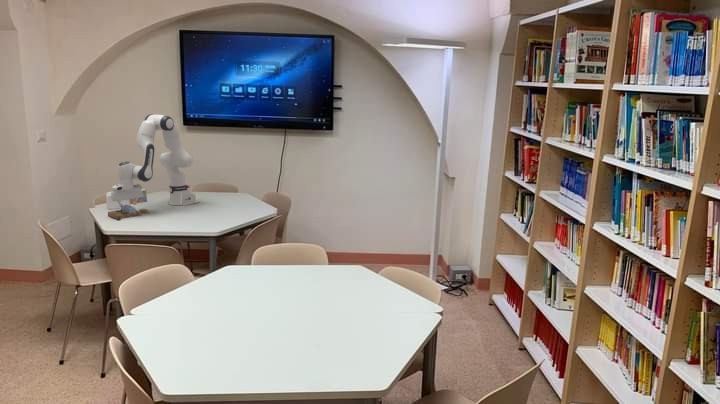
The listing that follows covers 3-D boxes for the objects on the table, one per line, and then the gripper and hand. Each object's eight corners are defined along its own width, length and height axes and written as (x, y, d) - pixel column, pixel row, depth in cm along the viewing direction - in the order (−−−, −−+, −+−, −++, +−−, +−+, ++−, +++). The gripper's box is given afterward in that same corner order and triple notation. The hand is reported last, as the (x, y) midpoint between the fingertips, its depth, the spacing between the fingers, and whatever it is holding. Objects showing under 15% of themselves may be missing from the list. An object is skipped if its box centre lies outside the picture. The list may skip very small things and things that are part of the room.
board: (131, 212, 360) (131, 208, 359) (141, 216, 349) (141, 212, 348) (108, 215, 348) (107, 211, 348) (117, 220, 338) (117, 216, 337)
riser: (145, 212, 361) (145, 208, 361) (148, 213, 358) (148, 209, 358) (139, 213, 358) (139, 209, 358) (142, 214, 355) (142, 210, 355)
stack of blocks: (143, 200, 398) (142, 184, 395) (147, 201, 394) (146, 186, 391) (115, 204, 382) (114, 188, 379) (119, 205, 378) (118, 189, 375)
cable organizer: (129, 206, 377) (128, 190, 375) (130, 209, 368) (128, 193, 366) (107, 207, 371) (105, 192, 369) (107, 211, 362) (105, 195, 359)
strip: (127, 211, 356) (126, 204, 355) (135, 215, 347) (135, 207, 346) (121, 212, 353) (120, 204, 352) (129, 216, 344) (129, 208, 343)
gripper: (139, 183, 356) (141, 202, 359) (109, 187, 341) (111, 207, 345) (143, 184, 352) (145, 204, 355) (112, 188, 337) (115, 209, 340)
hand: (128, 205), depth 350 cm, fingers open, 8 cm apart
